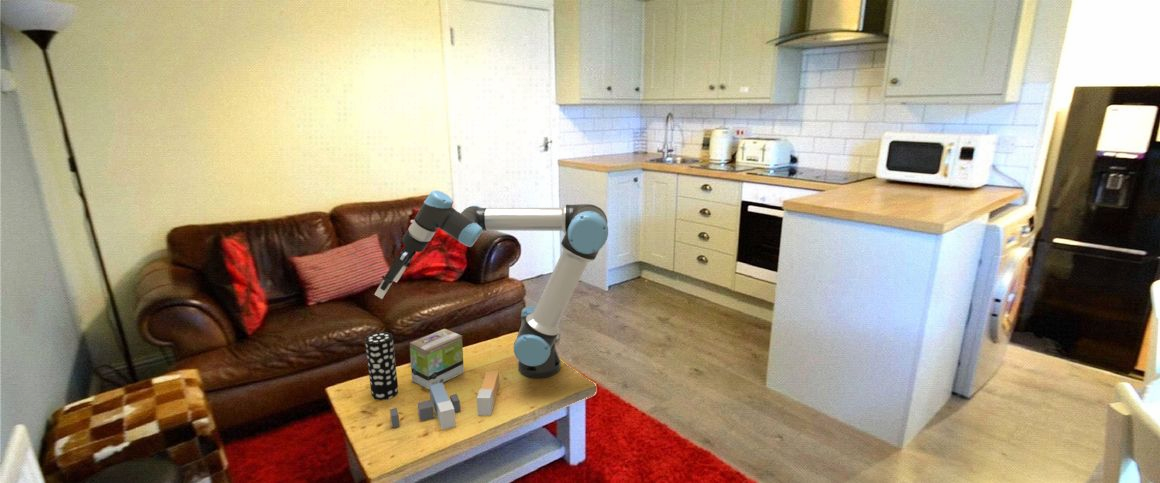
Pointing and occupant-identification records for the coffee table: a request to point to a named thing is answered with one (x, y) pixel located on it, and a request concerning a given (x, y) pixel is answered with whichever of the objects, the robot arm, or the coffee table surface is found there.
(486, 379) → the white-capped orange post
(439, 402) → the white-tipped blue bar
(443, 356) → the tea box
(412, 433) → the coffee table surface
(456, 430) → the coffee table surface
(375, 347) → the spotted tube
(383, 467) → the coffee table surface
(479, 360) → the coffee table surface
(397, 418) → the grey blocks
